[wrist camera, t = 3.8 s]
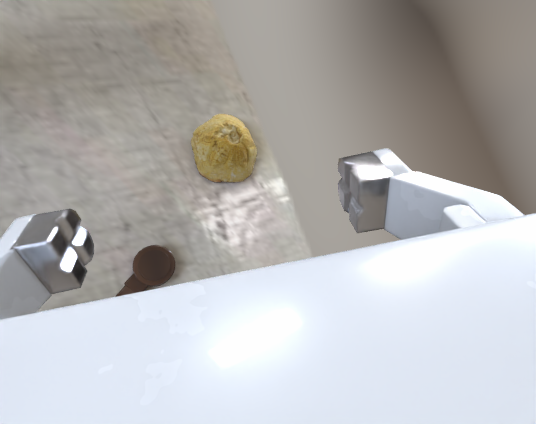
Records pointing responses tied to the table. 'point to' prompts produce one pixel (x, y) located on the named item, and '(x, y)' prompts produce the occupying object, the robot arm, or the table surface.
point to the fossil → (224, 149)
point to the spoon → (149, 269)
